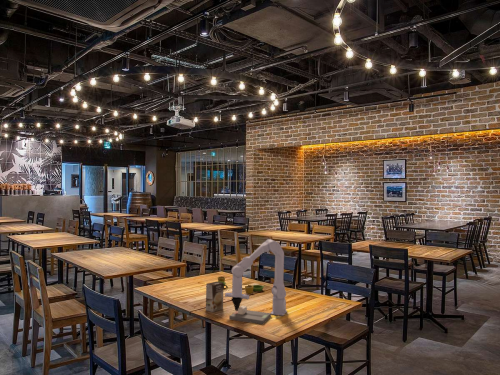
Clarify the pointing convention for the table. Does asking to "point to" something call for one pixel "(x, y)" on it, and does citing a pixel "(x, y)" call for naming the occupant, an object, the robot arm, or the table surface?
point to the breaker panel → (251, 317)
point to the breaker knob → (242, 310)
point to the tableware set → (248, 288)
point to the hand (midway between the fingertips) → (236, 310)
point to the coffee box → (214, 296)
